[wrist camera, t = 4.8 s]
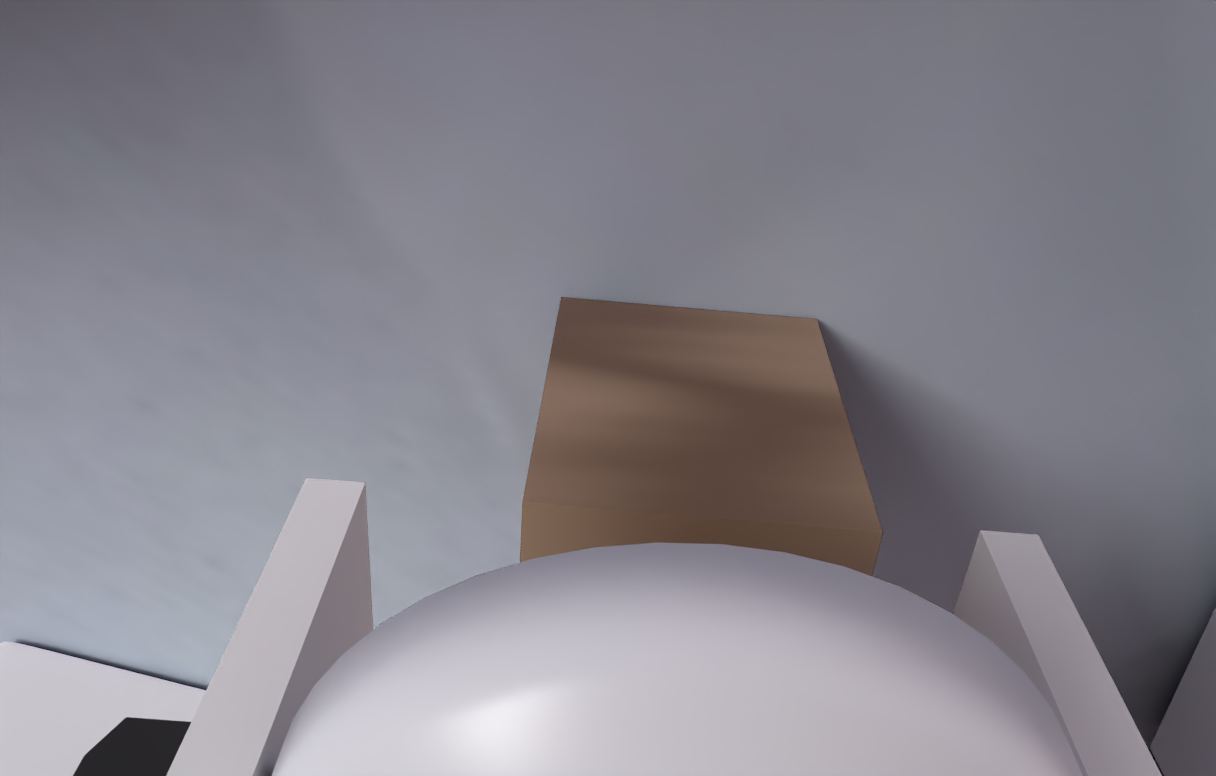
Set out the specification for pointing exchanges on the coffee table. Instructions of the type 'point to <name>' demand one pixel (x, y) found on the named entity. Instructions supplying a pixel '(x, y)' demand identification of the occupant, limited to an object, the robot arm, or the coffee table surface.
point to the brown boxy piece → (694, 437)
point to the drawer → (1191, 716)
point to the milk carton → (73, 707)
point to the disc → (675, 677)
